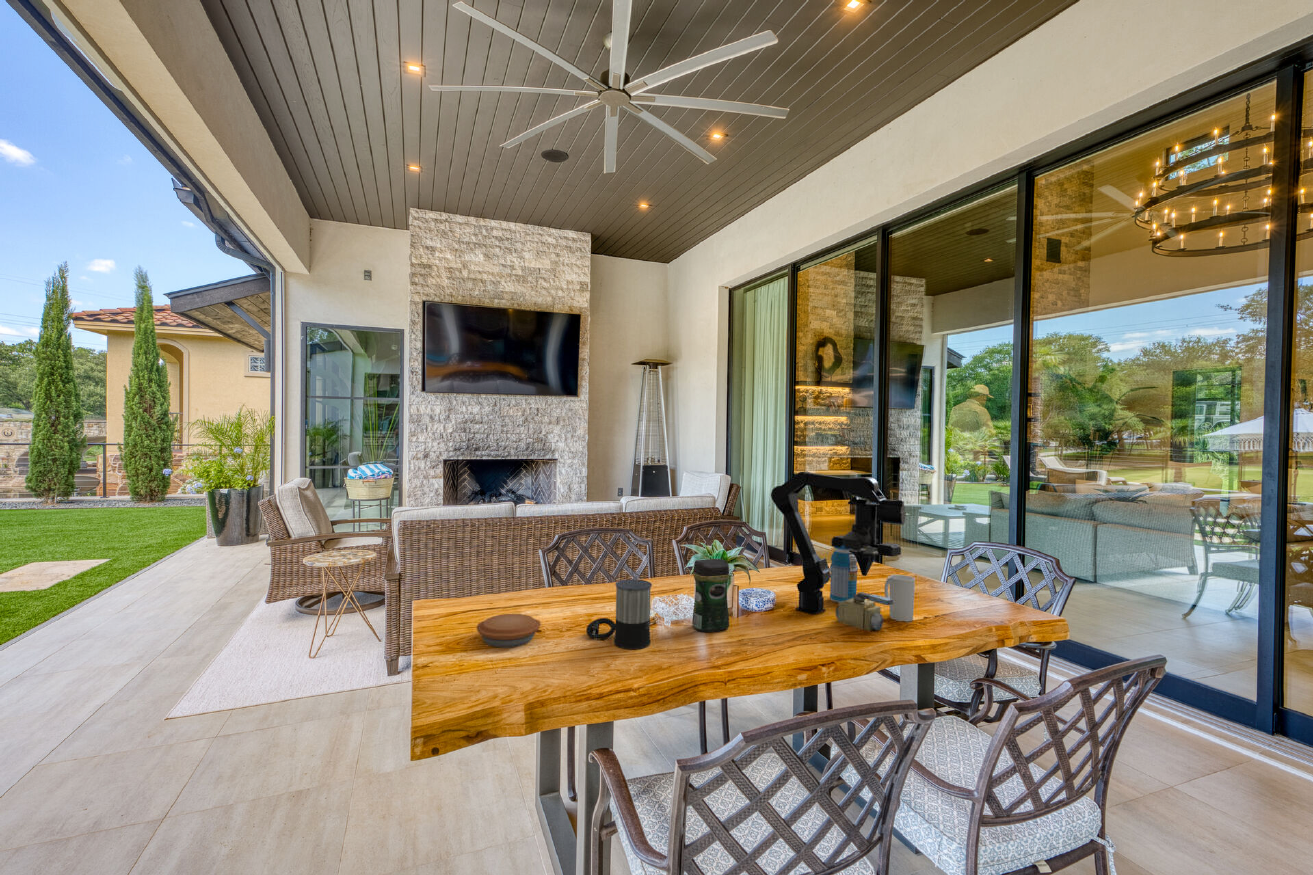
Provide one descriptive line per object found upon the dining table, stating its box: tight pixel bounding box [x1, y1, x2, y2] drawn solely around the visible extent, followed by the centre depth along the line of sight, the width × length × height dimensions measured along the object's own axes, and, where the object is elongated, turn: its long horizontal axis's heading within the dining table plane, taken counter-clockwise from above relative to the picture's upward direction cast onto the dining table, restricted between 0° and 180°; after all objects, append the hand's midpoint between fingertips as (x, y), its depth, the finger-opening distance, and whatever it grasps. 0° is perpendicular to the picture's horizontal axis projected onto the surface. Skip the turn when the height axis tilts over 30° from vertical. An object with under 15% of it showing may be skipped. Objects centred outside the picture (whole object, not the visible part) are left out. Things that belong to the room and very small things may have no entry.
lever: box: [853, 591, 893, 606], centre depth 158 cm, size 3×11×2 cm, turn 36°
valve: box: [835, 598, 884, 632], centre depth 161 cm, size 12×6×6 cm, turn 40°
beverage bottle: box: [829, 545, 859, 604], centre depth 185 cm, size 8×8×20 cm
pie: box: [476, 613, 542, 648], centre depth 143 cm, size 16×16×5 cm
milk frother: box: [585, 578, 653, 650], centre depth 144 cm, size 14×16×15 cm
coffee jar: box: [691, 558, 730, 633], centre depth 155 cm, size 10×8×19 cm
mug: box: [884, 574, 916, 623], centre depth 169 cm, size 10×7×12 cm, turn 21°
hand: (864, 575), depth 164 cm, fingers closed
